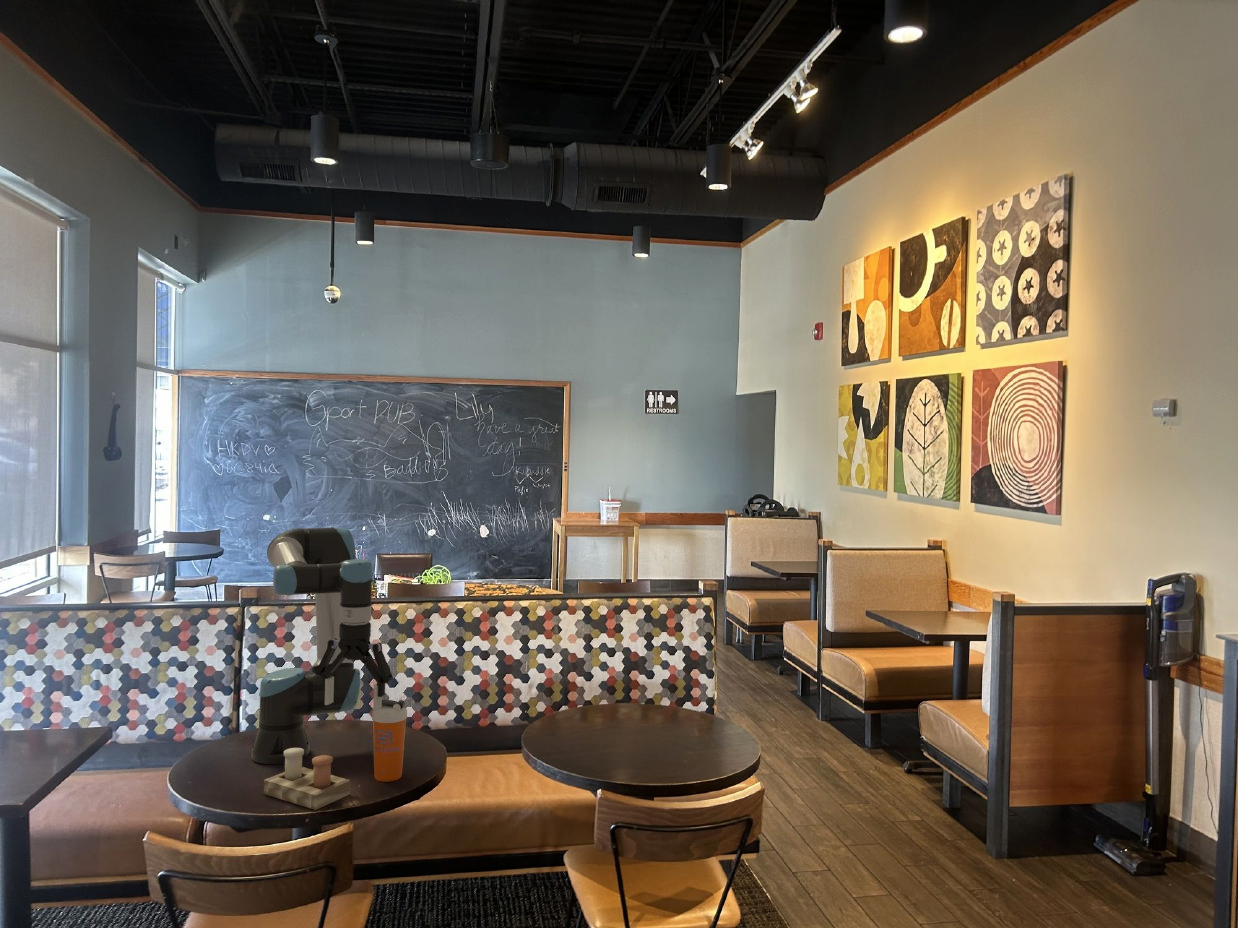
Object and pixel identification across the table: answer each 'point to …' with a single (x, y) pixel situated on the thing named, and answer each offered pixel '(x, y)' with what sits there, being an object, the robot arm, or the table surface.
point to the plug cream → (293, 763)
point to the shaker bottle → (389, 740)
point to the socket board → (306, 789)
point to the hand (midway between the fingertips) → (353, 706)
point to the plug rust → (322, 771)
